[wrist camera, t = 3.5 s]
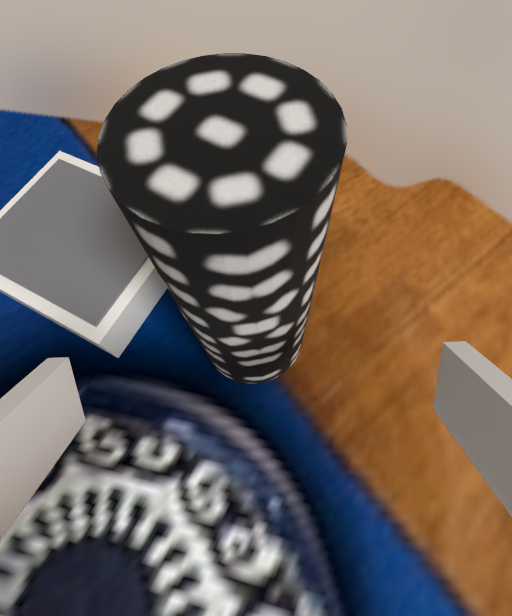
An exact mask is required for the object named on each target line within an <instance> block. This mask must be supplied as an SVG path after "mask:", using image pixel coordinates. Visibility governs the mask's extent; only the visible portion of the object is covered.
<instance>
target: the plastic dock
mask: <svg viewBox="0 0 512 616" xmlns="http://www.w3.org/2000/svg"><path fill="white" fill-rule="evenodd" d="M166 289H167V287H166V285H165V284H164V282H163V280H162V279H161V277H160V275H159V274H158V272H157V270H156V269H155V267H154V265H153V264H152V262H151V260H150V259H149V257H148V255H147V253H146V252H145V250H144V248H143V247H142V245H141V243H140V242H139V240H138V238H137V237H136V235H135V233H134V232H133V230H132V228H131V227H130V225H129V223H128V221H127V220H126V218H125V216H124V215H123V213H122V211H121V210H120V208H119V206H118V205H117V203H116V201H115V200H114V198H113V196H112V195H111V193H110V191H109V189H108V188H107V185H106V183H105V181H104V179H103V177H102V175H101V173H100V170H99V167H97V166H95V165H92V164H90V163H88V162H85V161H83V160H80V159H78V158H75V157H73V156H71V155H68V154H66V153H63V152H61V151H59V152H58V153H57V154H56V155H55V156H54V157H53V158H52V159H51V160H50V161H49V162H48V163H47V164H46V165H45V166H44V167H43V168H42V169H41V170H40V171H39V172H38V173H37V174H36V175H35V176H34V177H33V178H32V179H31V180H30V181H29V182H28V183H27V184H26V185H25V186H24V187H23V188H22V189H21V190H20V191H19V192H18V193H17V194H16V195H15V197H14V198H13V199H12V200H11V201H10V202H9V203H8V204H7V205H6V206H5V207H4V208H3V209H2V210H1V211H0V292H1V293H3V294H5V295H7V296H9V297H10V298H12V299H14V300H16V301H17V302H19V303H21V304H23V305H25V306H26V307H28V308H30V309H32V310H33V311H35V312H37V313H39V314H41V315H42V316H44V317H46V318H48V319H49V320H51V321H53V322H55V323H57V324H58V325H60V326H62V327H64V328H65V329H67V330H69V331H71V332H73V333H74V334H76V335H78V336H80V337H81V338H83V339H85V340H87V341H89V342H90V343H92V344H94V345H96V346H97V347H99V348H101V349H103V350H105V351H106V352H108V353H110V354H112V355H113V356H115V357H117V358H119V357H120V355H121V354H122V352H123V351H124V349H125V348H126V347H127V345H128V344H129V342H130V341H131V339H132V338H133V337H134V335H135V334H136V332H137V331H138V329H139V328H140V326H141V325H142V324H143V322H144V321H145V319H146V318H147V316H148V315H149V314H150V312H151V311H152V309H153V308H154V306H155V305H156V304H157V302H158V301H159V299H160V298H161V296H162V295H163V294H164V292H165V291H166Z"/></svg>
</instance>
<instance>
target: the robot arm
mask: <svg viewBox="0 0 512 616" xmlns="http://www.w3.org/2000/svg"><path fill="white" fill-rule="evenodd" d="M433 410H434V411H435V412H436V414H437V415H438V416H439V418H440V419H441V421H442V422H443V423H444V425H445V426H446V427H447V429H448V430H449V432H450V433H451V434H452V436H453V437H454V438H455V440H456V441H457V443H458V444H459V445H460V447H461V448H462V449H463V451H464V452H465V454H466V455H467V456H468V458H469V459H470V460H471V462H472V463H473V465H474V466H475V467H476V469H477V470H478V471H479V473H480V474H481V476H482V477H483V478H484V480H485V481H486V482H487V484H488V485H489V487H490V488H491V489H492V491H493V492H494V493H495V495H496V496H497V498H498V499H499V500H500V502H501V503H502V504H503V506H504V507H505V508H506V510H507V511H508V513H509V514H510V515H511V517H512V379H511V378H510V377H508V376H507V375H506V374H505V373H503V372H502V371H501V370H500V369H499V368H497V367H496V366H495V365H494V364H493V363H491V362H490V361H489V360H488V359H486V358H485V357H484V356H483V355H482V354H480V353H479V352H478V351H477V350H476V349H474V348H473V347H472V346H471V345H469V344H468V343H467V342H466V341H463V342H443V346H442V353H441V360H440V366H439V373H438V380H437V387H436V394H435V401H434V408H433ZM85 421H86V420H85V417H84V413H83V409H82V405H81V402H80V398H79V394H78V390H77V387H76V383H75V379H74V375H73V372H72V368H71V364H70V360H69V357H62V358H47V359H46V360H45V361H44V362H42V363H41V364H40V365H39V366H38V367H37V368H35V369H34V370H33V371H32V372H31V373H30V374H29V375H27V376H26V377H25V378H24V379H23V380H22V381H20V382H19V383H18V384H17V385H16V386H15V387H13V388H12V389H11V390H10V391H9V392H8V393H6V394H5V395H4V396H3V397H2V398H1V399H0V541H1V539H2V538H3V537H4V535H5V534H6V532H7V531H8V530H9V528H10V527H11V525H12V524H13V523H14V521H15V520H16V518H17V517H18V516H19V514H20V513H21V511H22V510H23V508H24V507H25V506H26V504H27V503H28V501H29V500H30V499H31V497H32V496H33V494H34V493H35V492H36V490H37V489H38V487H39V486H40V485H41V483H42V482H43V480H44V479H45V478H46V476H47V475H48V473H49V472H50V470H51V469H52V468H53V466H54V465H55V463H56V462H57V461H58V459H59V458H60V456H61V455H62V454H63V452H64V451H65V449H66V448H67V447H68V445H69V444H70V442H71V441H72V440H73V438H74V437H75V435H76V434H77V433H78V431H79V430H80V428H81V427H82V425H83V424H84V423H85Z"/></svg>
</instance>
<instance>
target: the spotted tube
mask: <svg viewBox="0 0 512 616" xmlns="http://www.w3.org/2000/svg"><path fill="white" fill-rule="evenodd" d="M346 144H347V125H346V121H345V118H344V115H343V112H342V108H341V107H340V105H339V103H338V102H337V100H336V99H335V97H334V95H333V94H332V93H331V92H330V91H329V90H328V89H327V88H326V87H325V86H324V85H323V84H322V83H321V82H320V81H319V80H318V79H317V78H315V77H313V76H312V75H310V74H309V73H308V72H306V71H305V70H303V69H300V68H299V67H296V66H294V65H292V64H290V63H287V62H285V61H281V60H277V59H274V58H270V57H267V56H260V55H252V54H239V53H235V54H234V53H232V54H231V53H229V54H228V53H224V54H215V55H206V56H201V57H196V58H192V59H189V60H184V61H180V62H178V63H175V64H173V65H170V66H167V67H165V68H162V69H160V70H159V71H157V72H155V73H153V74H151V75H149V76H147V77H146V78H144V79H143V80H141V81H140V82H139V83H137V84H136V85H135V86H133V87H132V88H131V89H129V90H128V91H127V92H126V93H125V94H124V95H123V96H122V97H121V98H120V99H119V100H118V101H117V102H116V104H115V105H114V106H113V108H112V110H111V111H110V112H109V114H108V116H107V117H106V119H105V120H104V123H103V126H102V129H101V131H100V134H99V137H98V147H97V159H98V164H99V170H100V173H101V175H102V177H103V179H104V181H105V183H106V185H107V188H108V189H109V191H110V193H111V195H112V196H113V198H114V200H115V201H116V203H117V205H118V206H119V208H120V210H121V211H122V213H123V215H124V216H125V218H126V220H127V221H128V223H129V225H130V227H131V228H132V230H133V232H134V233H135V235H136V237H137V238H138V240H139V242H140V243H141V245H142V247H143V248H144V250H145V252H146V253H147V255H148V257H149V259H150V260H151V262H152V264H153V265H154V267H155V269H156V270H157V272H158V274H159V275H160V277H161V279H162V280H163V282H164V284H165V285H166V287H167V289H168V291H169V292H170V294H171V296H172V297H173V299H174V301H175V302H176V304H177V306H178V307H179V309H180V311H181V312H182V314H183V316H184V317H185V319H186V321H187V322H188V324H189V326H190V328H191V329H192V331H193V333H194V334H195V336H196V338H197V339H198V341H199V343H200V344H201V346H202V348H203V349H204V351H205V353H206V354H207V356H208V358H209V360H210V361H211V363H212V364H213V365H214V366H215V368H216V369H217V370H218V371H220V372H221V373H222V374H223V375H225V376H226V377H228V378H230V379H232V380H235V381H239V382H242V383H253V384H254V383H262V382H266V381H269V380H272V379H274V378H276V377H278V376H280V375H281V374H283V373H284V372H285V371H286V370H287V369H289V368H290V366H291V365H292V364H293V362H294V361H295V360H296V358H297V356H298V354H299V352H300V348H301V344H302V340H303V335H304V331H305V326H306V322H307V318H308V313H309V309H310V304H311V300H312V295H313V291H314V287H315V282H316V278H317V273H318V269H319V265H320V260H321V256H322V251H323V247H324V242H325V238H326V234H327V229H328V225H329V220H330V216H331V211H332V207H333V203H334V198H335V194H336V189H337V185H338V181H339V176H340V172H341V167H342V163H343V158H344V154H345V149H346Z"/></svg>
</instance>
